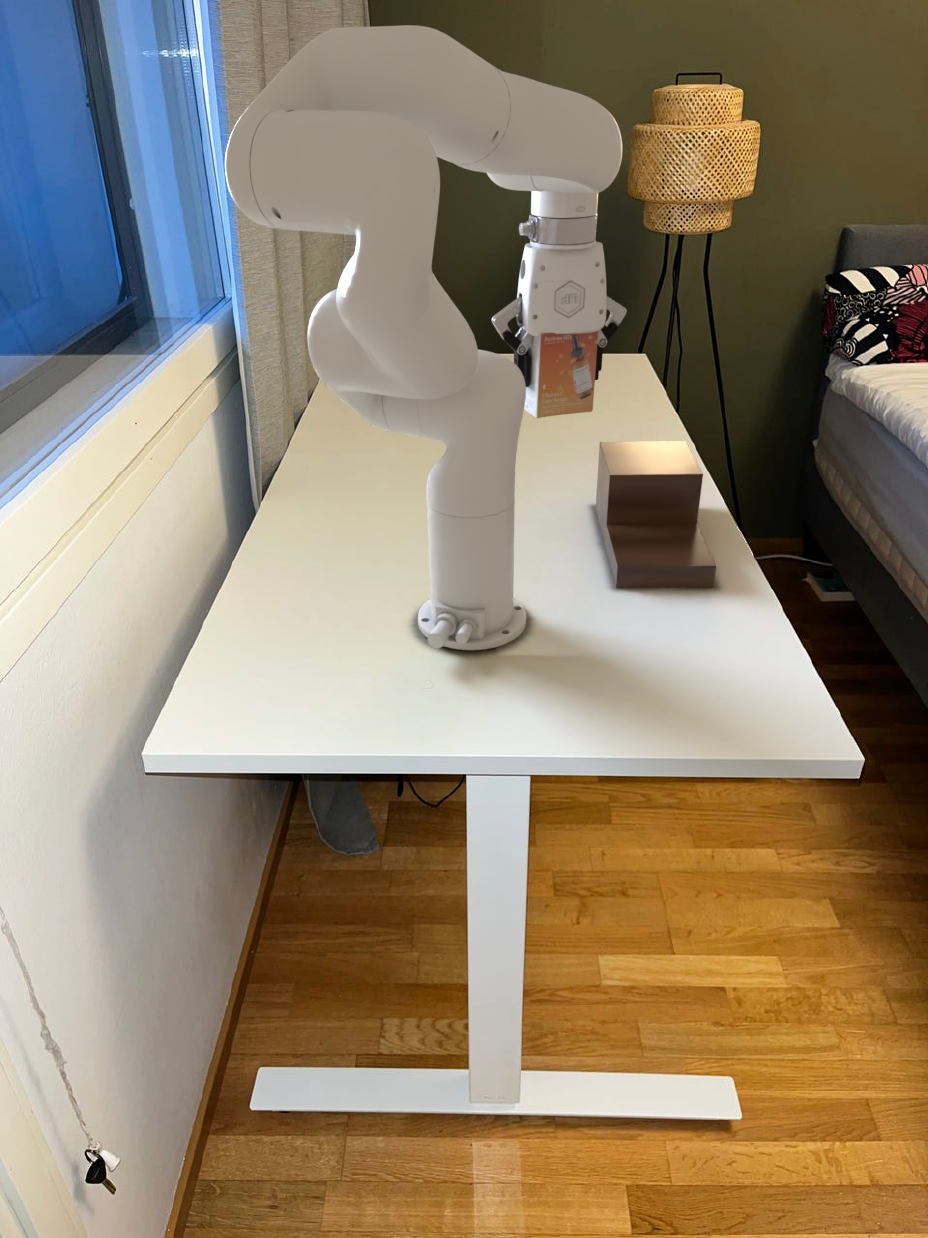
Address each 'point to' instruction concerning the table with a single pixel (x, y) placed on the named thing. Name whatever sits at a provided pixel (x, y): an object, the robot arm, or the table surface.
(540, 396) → the small box
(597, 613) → the table surface
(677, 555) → the step shelf
